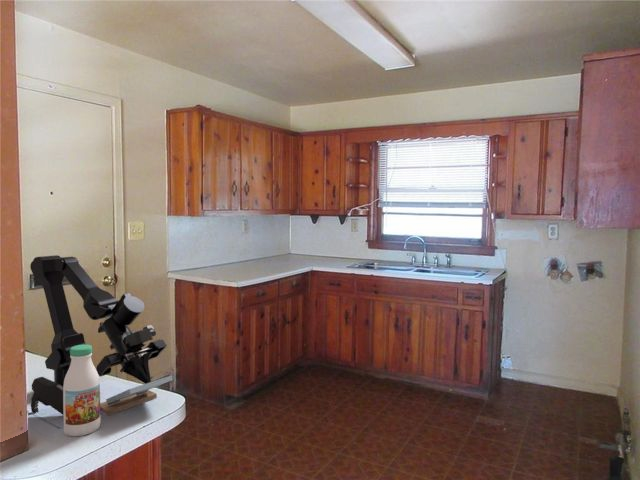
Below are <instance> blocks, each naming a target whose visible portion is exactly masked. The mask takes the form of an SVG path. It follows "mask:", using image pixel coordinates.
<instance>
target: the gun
mask: <svg viewBox="0 0 640 480" xmlns="http://www.w3.org/2000/svg"><path fill="white" fill-rule="evenodd" d="M31 390H32V391H33V394H32V396H31V399H30V409H31V410H30V411H31V412H32V413H33V414H37V413H39V403H41V404H42V405H44V406H45V407H51V408H53V409H54V410H55V411H57V412H58V413H60V414H61V415H62V416H64V415H63V387H62V386H61V385H59V384H58V383H56V382H54V380H51V379H48V378H46V377H44V376H39V377H37V378H34V379H33V380H32V383H31ZM36 412H37V413H36Z"/></svg>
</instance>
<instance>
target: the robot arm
mask: <svg viewBox="0 0 640 480" xmlns="http://www.w3.org/2000/svg"><path fill="white" fill-rule="evenodd" d="M29 266H30V271H31V273H32V276H33V279H34V280H35V281H36V282H37V283H38V284H39V285H40V286H41V287H42V288H43V292H44V296H45V299H46V304H47V308H48V312H49V315H50V320H51V324H52V329H53V332H54V337H53V339H52V342H51V344H50V347H51V353H50V354H49V356H47V358H46V359H45V360H44V362H45V363H44V364H45V367H46V369H48V370H52V371H53V382H56V383H58V384H59V385H61V386H62V387H63V385H64V379H65V376H66V374H67V372H68V370H69V367H70V364H71V358H70V348H71V347H73V346H77V345H87V343H86V341H85V336H84V333H83V332H80V333H79V332H78V331H76V330H75V329H74V324H73V320H72V317H71V313H70V309H69V305H68V299H67V296H66V293H65V289H64V285H63V282H64V279H66V280H67V281H68V282H69V283H70V285H71V286H72V287H73V288H74V290H75V291H76V292H77V293H78V295H79V296H80V297H81V299H82V301H83V305H82V306H83V307H82V308H83V309H84V311H85V312H86V314H87V316H88V318H89V319H90V320H93V321H98V320H102V319H104V321H101V322H99V327H98V329H97V333H99V334H101V333H105V335H106V337H107V338H108V340H109V342H110V343H111V344H110V346H109V348H110V350H115V352H113V353H110V354H106V355H105V356H104V357H103V358H101V360H100V362H98V364H97V365H96V367H95V369H96V370H97V373H98V375H99V378H101V377H103V376H106V375H107V376H108V375H110V374H111V372H112V368H113V367H116V366H119V365H120V367H121V369H120V370H119V372H120V373H125V374H127V375H130V377H131V376H132V378H133V377H134V378H135V379H136V380H139V381H140V382H142V383H143V384H147V383H150V382H152V379H151V373H150V366H149V361H150V360H153V359H156V358H158V357H159V356H160V355H161V353H162V352H163V351H164V350H165V349H166V347H168V345H167V344H166V342H165V340H164V339H161V338H160V339H156V340H153V337H155V336H156V334H157V332H156V329H155V328H154V327H153V325H152V324H150V325H146V326H144V327H142V329H141V330H137V331H136V330H134V329H133V330H132V329H131V328H130V327H129V326H130V325H133V323H134V321H136V320H137V318H138V317H139V316H140V315H141V314H142V312H144V310H145V303H144V302H143V300H141V299H139V298H138V297H137V296H133V295H132V294H131V293H129V292H128V293H124V294H123V293H122V295H121V296H120V299H119V300H117V298H116V297H115V296H113V294H111V292H109V291H107V290H104V289H103V288H100V287H99V286H98V285H97V284H96V283H95V281H94V280H93V279H92V277H90V275H89V274H88V273H87V272H86V270H85V269H84V268H83V267H82V266H81V265H80V263H79V259H78V258H77V257H75V256H63V257H62V256H60V255H55V254H54V255H41V256H35V257H34V258H33V259H32V261H31V263H30V265H29ZM152 340H153V341H152ZM149 341H150V342H149ZM146 342H149V343H148V344H146ZM145 345H146V347H145ZM143 347H145V348H143Z"/></svg>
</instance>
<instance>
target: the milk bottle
mask: <svg viewBox="0 0 640 480" xmlns="http://www.w3.org/2000/svg"><path fill="white" fill-rule="evenodd" d="M92 355H93V346H92V345H91V344H86V345H77V346H73V347H71V348H70V358H71V364H70V367H69V370H68V372H67V374H66V376H65V379H64V385H63V415H62V416H63V432H64V434H65V435H66V436H70V437H81V436H86V435H89V434H93V433H94V432H96V431H98V430H99V428H100V426H101V411H100V403H101V386H100V385H101V383H100V376H99V375H98V373H97V370H96V367H95V365H94V363H93V360H92Z"/></svg>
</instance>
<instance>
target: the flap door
mask: <svg viewBox="0 0 640 480" xmlns="http://www.w3.org/2000/svg"><path fill="white" fill-rule="evenodd" d="M171 381H173V377H172V375H169V376H166V377H163V378H160V379H157V380H153V381H151V382H150V383H147V384H145V383H143V384H142V385H138V386H135V387H132V388H129V389H126V390H124V391H122V392H120V393H117V394H115V395H113V396H111V397H108V398H107V399H105V401H107V404H108V405H111V404H114V403H116V402H119V401H120V399H123V398H126V397H129V396H132V395H135V394H136V395H140V394H143V393H145V392H147V390H149V391H150V390H152V389H154V388H157V387H159V386H161V385H164V384H165V383H168V382H171Z"/></svg>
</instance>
